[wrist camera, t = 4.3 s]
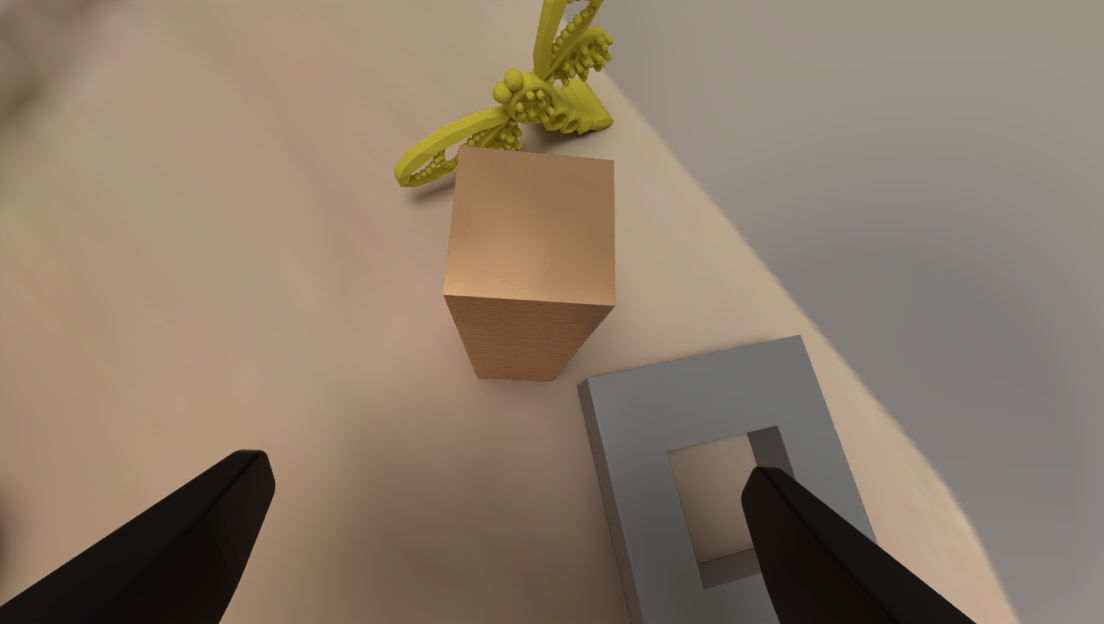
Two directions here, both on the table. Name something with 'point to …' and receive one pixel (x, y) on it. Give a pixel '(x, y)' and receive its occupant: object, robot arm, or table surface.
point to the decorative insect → (527, 96)
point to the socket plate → (694, 418)
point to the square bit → (529, 258)
